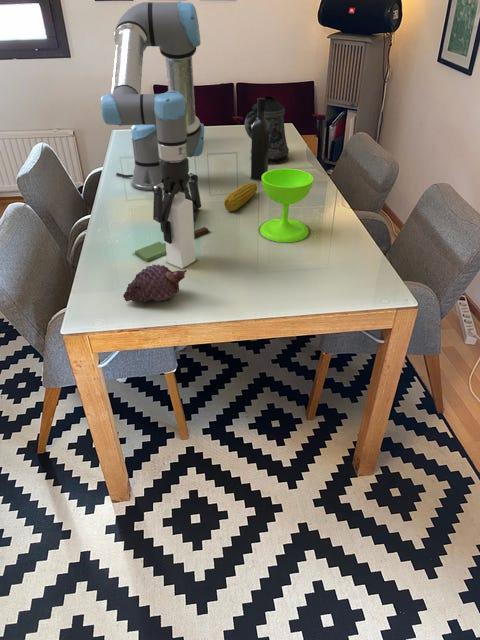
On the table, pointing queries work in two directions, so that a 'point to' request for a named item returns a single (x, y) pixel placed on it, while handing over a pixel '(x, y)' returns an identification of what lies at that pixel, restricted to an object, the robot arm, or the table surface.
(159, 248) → the spatula
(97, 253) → the table surface
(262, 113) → the wine bottle
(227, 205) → the food
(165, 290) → the pine cone
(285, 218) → the wineglass
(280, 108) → the beer stein
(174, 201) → the milk
